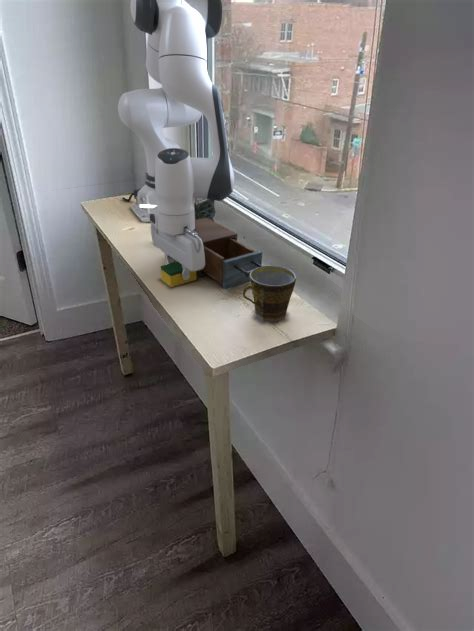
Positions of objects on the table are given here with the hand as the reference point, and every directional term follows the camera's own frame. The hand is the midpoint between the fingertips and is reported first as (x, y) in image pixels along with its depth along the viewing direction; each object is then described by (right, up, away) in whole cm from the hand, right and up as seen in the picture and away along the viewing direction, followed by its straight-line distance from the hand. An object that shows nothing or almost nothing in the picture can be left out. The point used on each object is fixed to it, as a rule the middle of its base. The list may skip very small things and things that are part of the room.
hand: (178, 273), depth 128 cm
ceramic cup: (+21, -11, -15) cm, 28 cm away
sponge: (0, -1, +1) cm, 2 cm away
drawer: (+14, -1, 0) cm, 14 cm away
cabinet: (+5, +4, +11) cm, 13 cm away
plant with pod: (+3, +14, +27) cm, 31 cm away
